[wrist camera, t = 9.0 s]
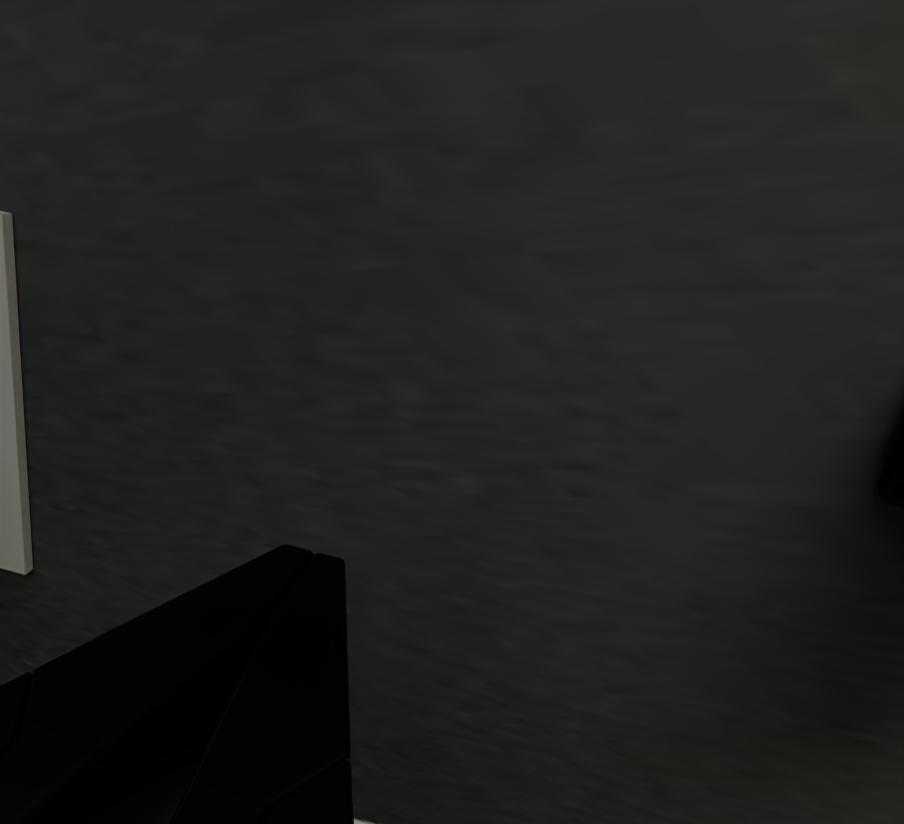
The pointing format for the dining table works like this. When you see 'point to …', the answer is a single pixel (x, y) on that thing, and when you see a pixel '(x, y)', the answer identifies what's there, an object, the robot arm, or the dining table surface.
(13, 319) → the mat
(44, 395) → the dining table surface
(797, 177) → the dining table surface
